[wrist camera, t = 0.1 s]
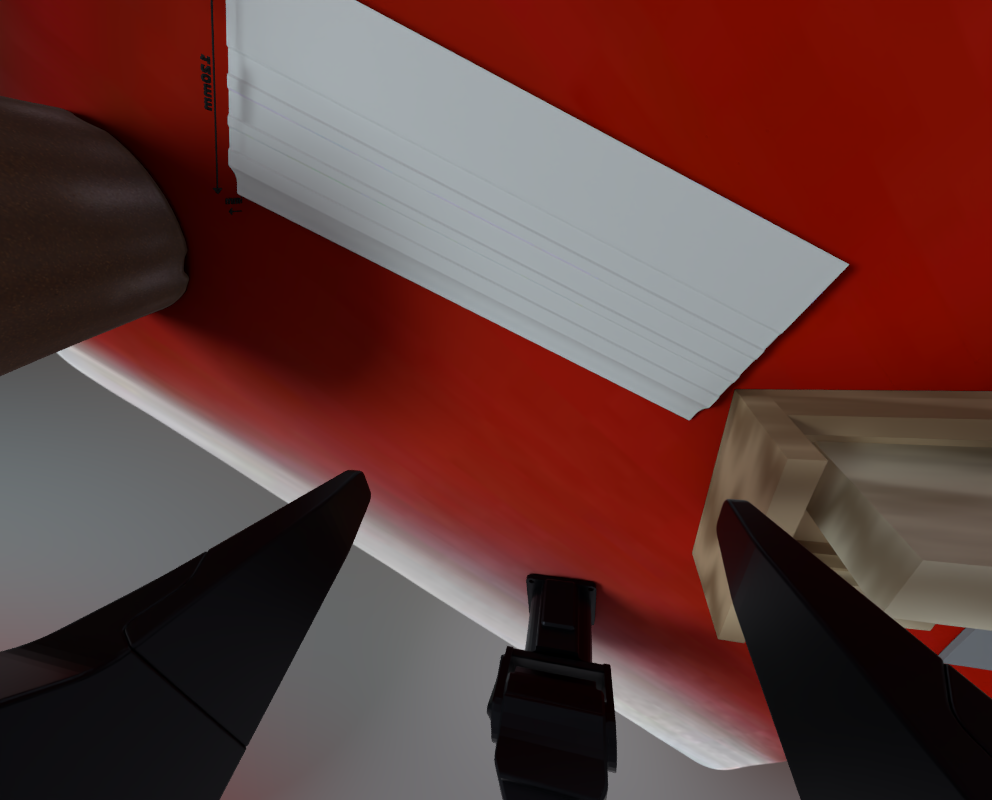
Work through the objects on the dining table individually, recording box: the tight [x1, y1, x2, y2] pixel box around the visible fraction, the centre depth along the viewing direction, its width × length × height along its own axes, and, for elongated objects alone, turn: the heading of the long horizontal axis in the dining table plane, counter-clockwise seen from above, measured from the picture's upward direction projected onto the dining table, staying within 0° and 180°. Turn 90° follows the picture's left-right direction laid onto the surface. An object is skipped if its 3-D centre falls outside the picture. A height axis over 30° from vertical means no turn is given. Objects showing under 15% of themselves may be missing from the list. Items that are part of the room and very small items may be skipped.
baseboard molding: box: [200, 0, 849, 420], centre depth 19 cm, size 31×3×12 cm
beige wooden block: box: [806, 441, 992, 631], centre depth 17 cm, size 4×10×8 cm, turn 96°
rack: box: [692, 389, 992, 643], centre depth 20 cm, size 15×19×6 cm
